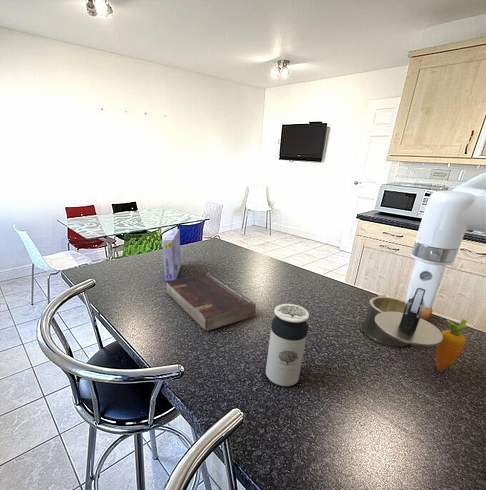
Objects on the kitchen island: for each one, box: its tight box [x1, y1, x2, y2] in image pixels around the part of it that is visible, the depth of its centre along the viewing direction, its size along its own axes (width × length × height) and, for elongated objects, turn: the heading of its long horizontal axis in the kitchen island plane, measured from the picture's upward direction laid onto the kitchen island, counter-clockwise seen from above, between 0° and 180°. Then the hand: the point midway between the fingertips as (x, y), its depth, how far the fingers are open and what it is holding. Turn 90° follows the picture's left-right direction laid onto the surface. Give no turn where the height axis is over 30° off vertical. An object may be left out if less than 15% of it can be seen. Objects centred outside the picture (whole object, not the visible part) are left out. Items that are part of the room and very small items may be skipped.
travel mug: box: [265, 303, 310, 387], centre depth 68 cm, size 8×8×18 cm
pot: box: [362, 294, 409, 348], centre depth 87 cm, size 13×18×10 cm
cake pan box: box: [161, 228, 182, 281], centre depth 125 cm, size 19×5×18 cm, turn 178°
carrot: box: [434, 318, 468, 372], centre depth 71 cm, size 5×5×15 cm
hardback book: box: [165, 272, 257, 332], centre depth 102 cm, size 29×19×5 cm, turn 32°
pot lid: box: [375, 305, 443, 347], centre depth 68 cm, size 14×14×6 cm
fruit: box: [404, 300, 433, 322], centre depth 96 cm, size 8×8×8 cm
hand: (407, 325), depth 68 cm, fingers closed on pot lid, 2 cm apart
